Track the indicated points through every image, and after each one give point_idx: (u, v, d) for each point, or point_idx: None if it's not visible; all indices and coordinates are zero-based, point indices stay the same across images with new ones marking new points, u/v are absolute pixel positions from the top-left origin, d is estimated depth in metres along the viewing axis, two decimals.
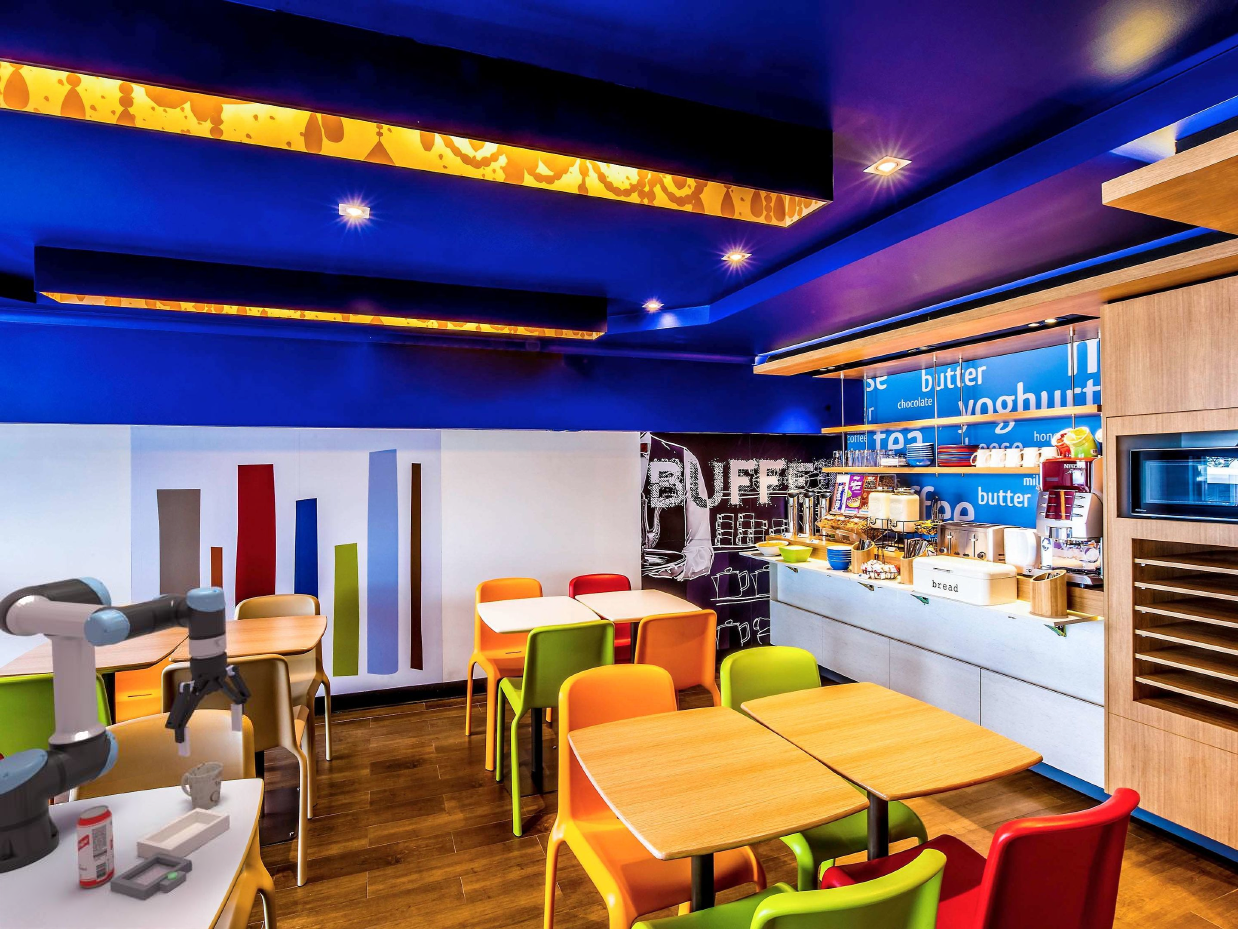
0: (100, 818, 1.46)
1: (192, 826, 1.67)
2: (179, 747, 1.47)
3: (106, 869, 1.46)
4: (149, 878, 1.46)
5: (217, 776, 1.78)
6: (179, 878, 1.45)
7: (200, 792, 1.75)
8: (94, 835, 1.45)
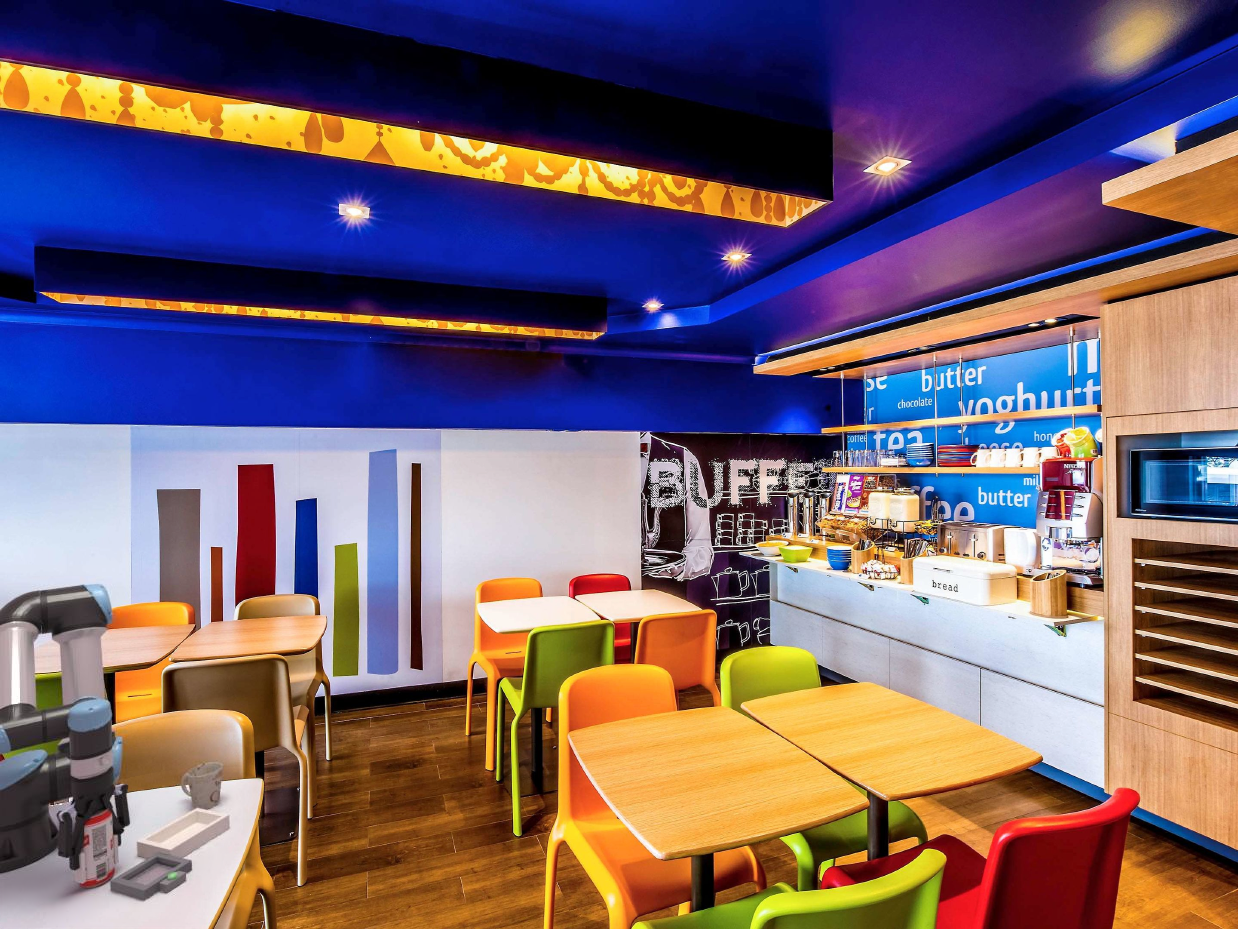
0: (100, 818, 1.46)
1: (192, 826, 1.67)
2: (75, 873, 1.44)
3: (106, 869, 1.46)
4: (149, 878, 1.46)
5: (217, 776, 1.78)
6: (179, 878, 1.45)
7: (200, 792, 1.75)
8: (94, 835, 1.45)
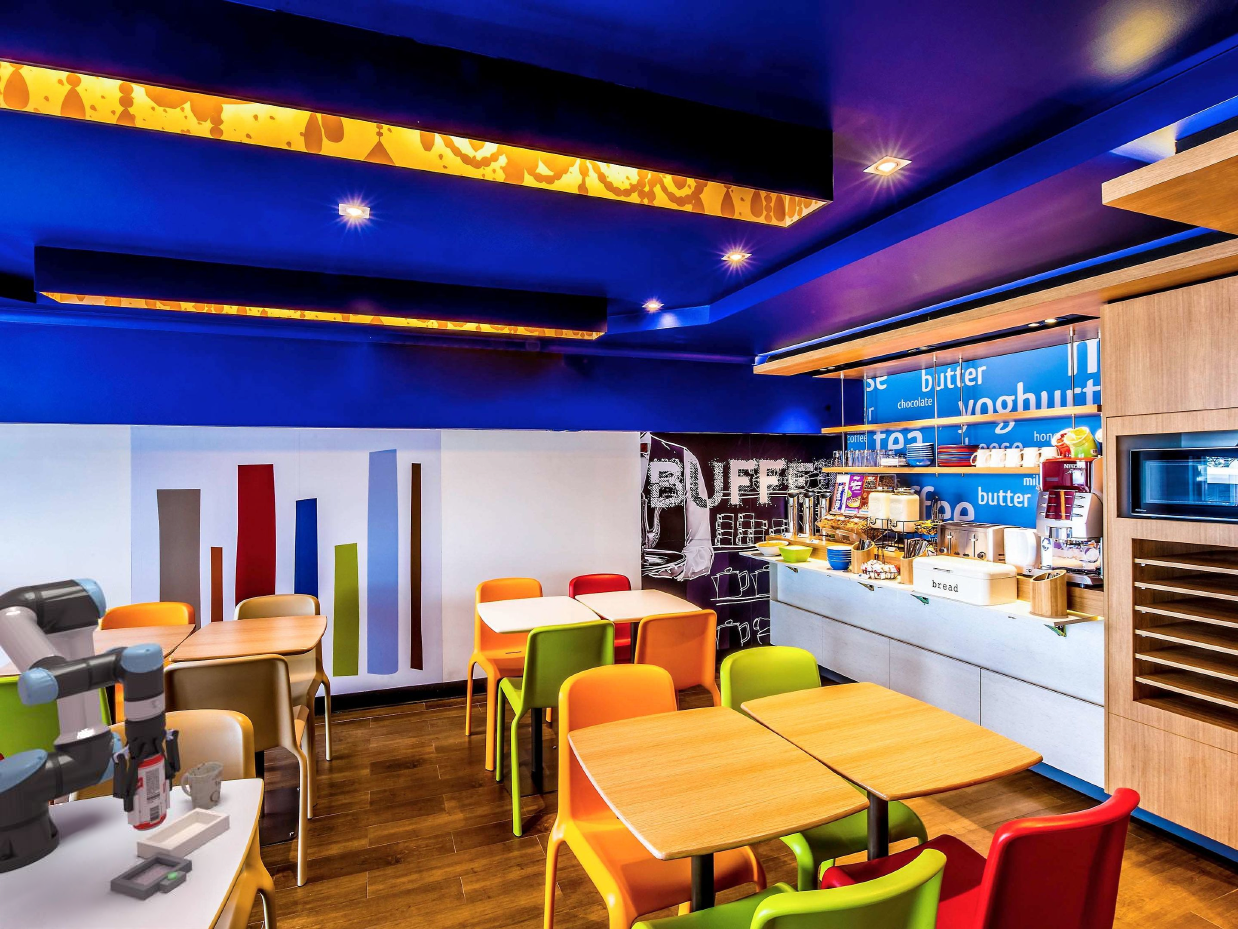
0: (154, 761, 1.45)
1: (192, 826, 1.67)
2: (129, 816, 1.43)
3: (159, 813, 1.46)
4: (149, 878, 1.46)
5: (217, 776, 1.78)
6: (179, 878, 1.45)
7: (200, 792, 1.75)
8: (148, 778, 1.44)
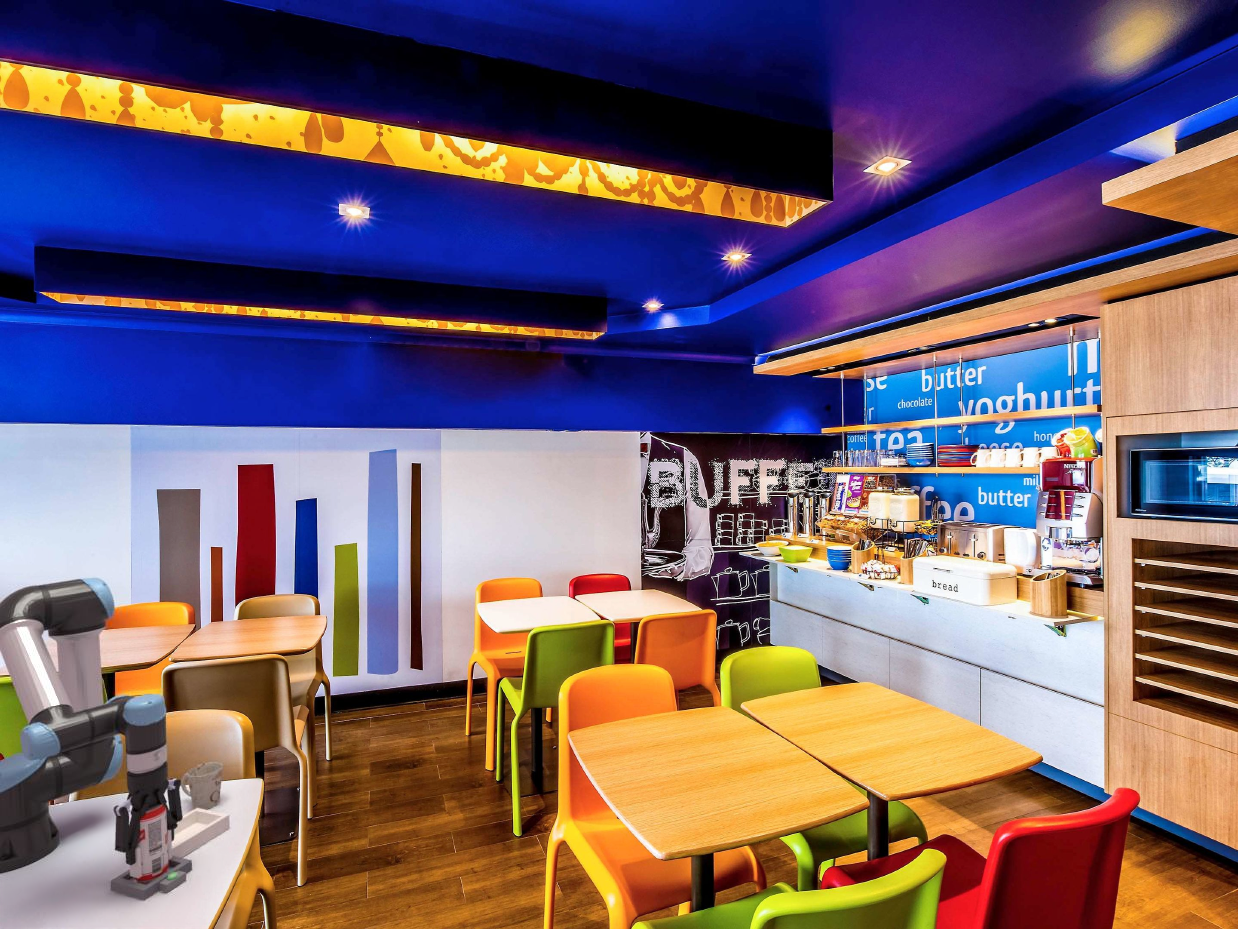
0: (156, 813, 1.46)
1: (192, 826, 1.67)
2: (131, 868, 1.44)
3: (161, 864, 1.46)
4: None
5: (217, 776, 1.78)
6: (179, 878, 1.45)
7: (200, 792, 1.75)
8: (150, 830, 1.44)
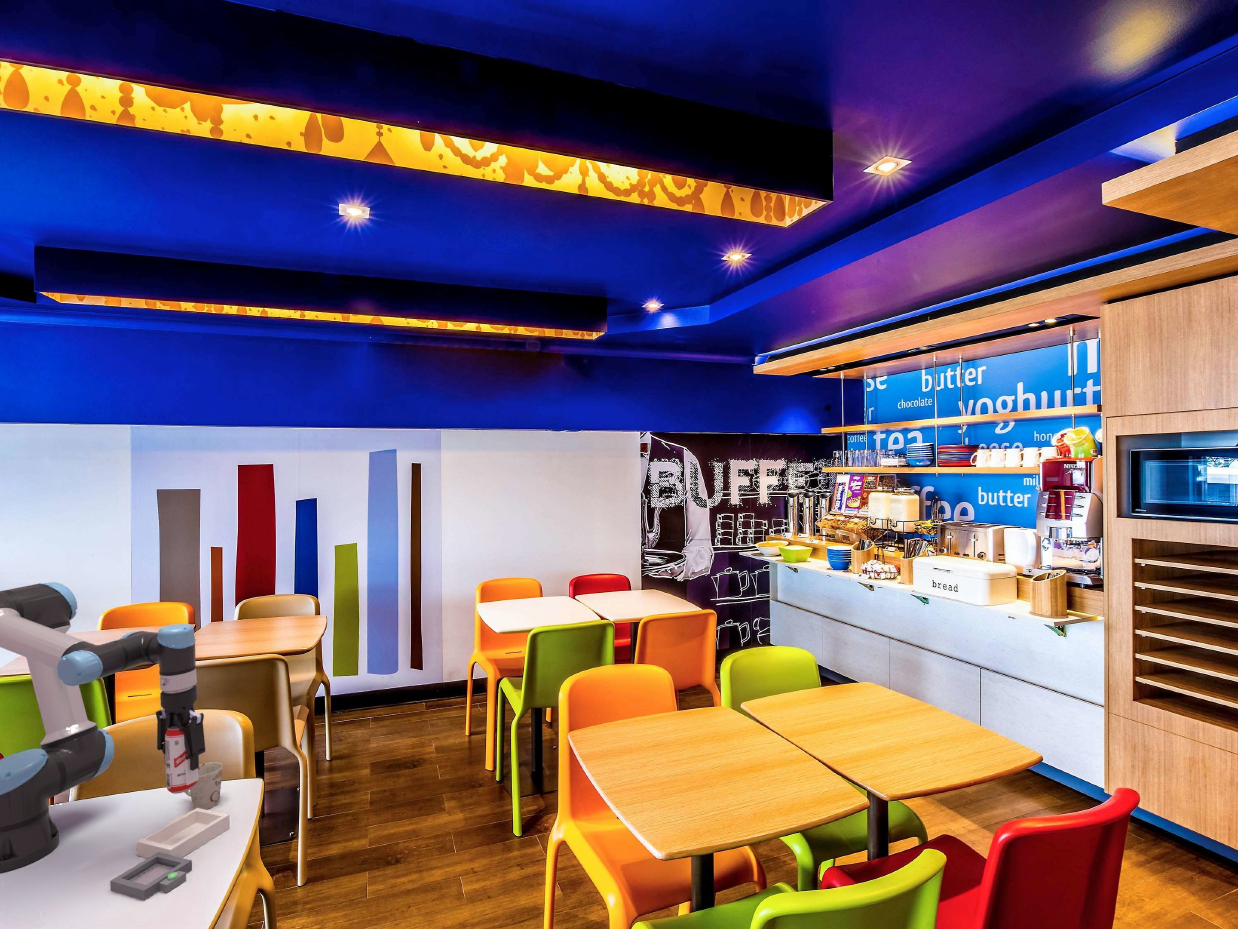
0: (168, 733, 1.59)
1: (192, 826, 1.67)
2: None
3: (170, 782, 1.58)
4: (149, 878, 1.46)
5: (217, 776, 1.78)
6: (179, 878, 1.45)
7: (200, 792, 1.75)
8: (165, 744, 1.59)
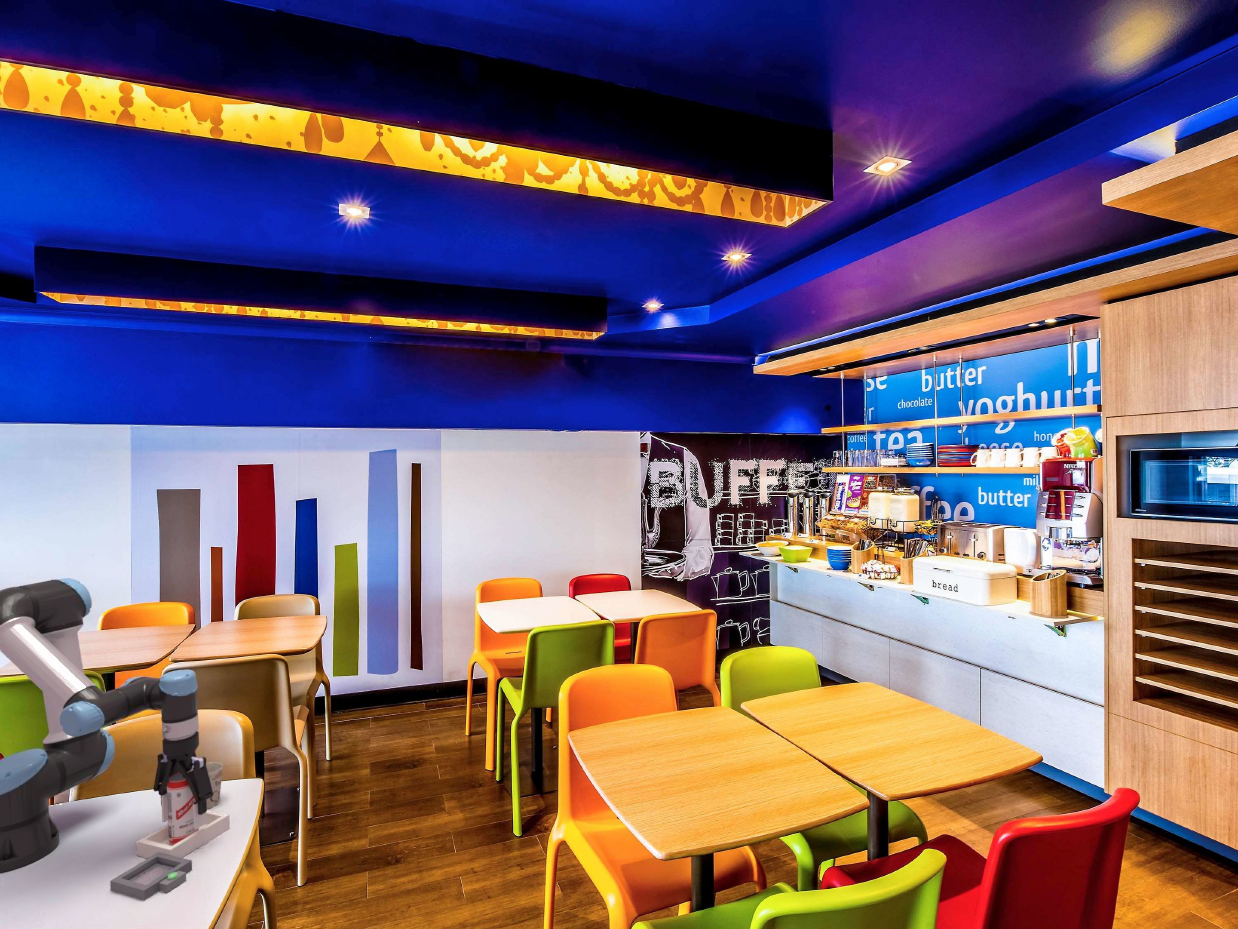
0: (170, 785, 1.59)
1: None
2: None
3: (172, 834, 1.59)
4: (149, 878, 1.46)
5: (217, 776, 1.78)
6: (179, 878, 1.45)
7: None
8: (167, 796, 1.60)
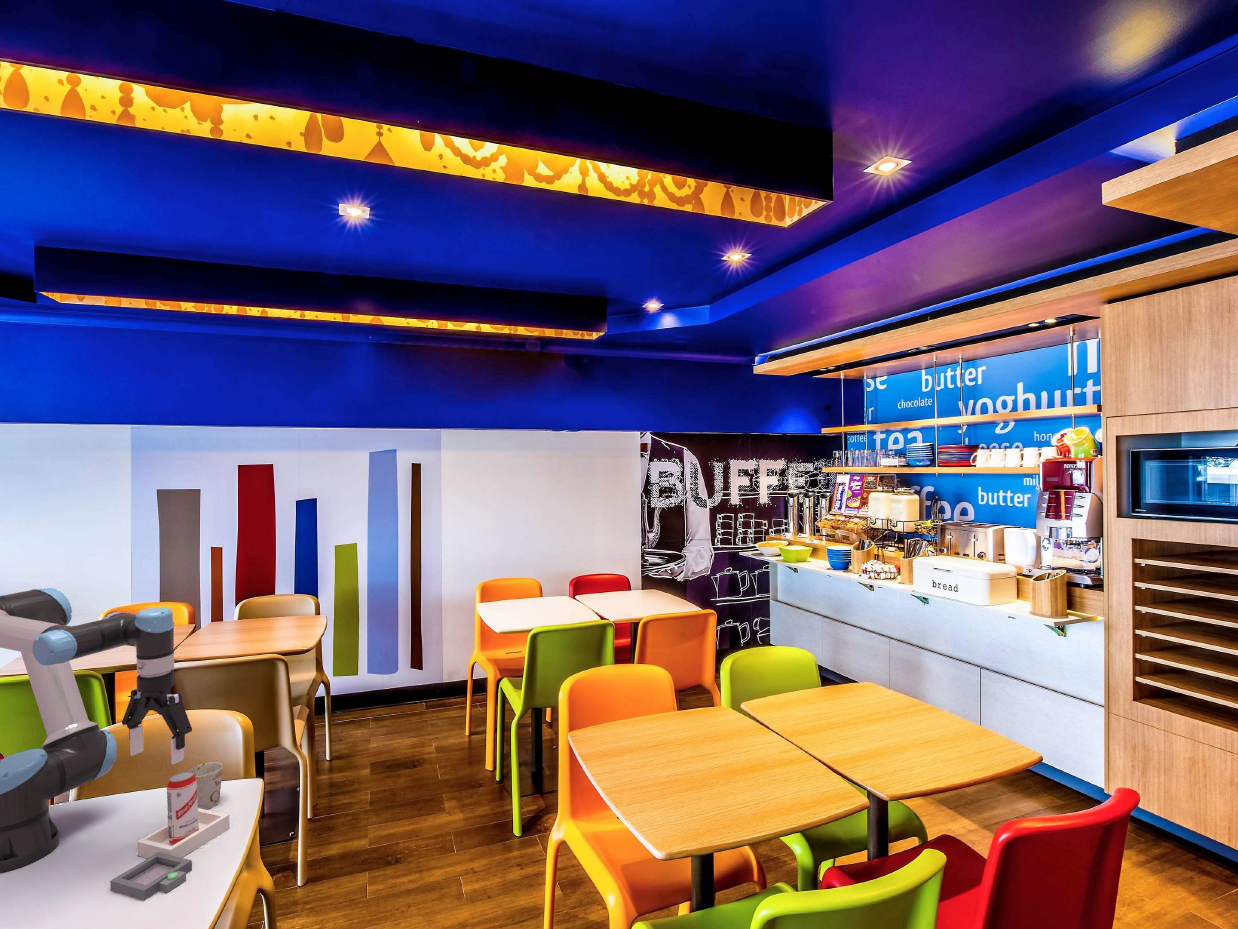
0: (170, 785, 1.59)
1: None
2: None
3: (172, 834, 1.59)
4: (149, 878, 1.46)
5: (217, 776, 1.78)
6: (179, 878, 1.45)
7: (200, 792, 1.75)
8: (167, 796, 1.60)
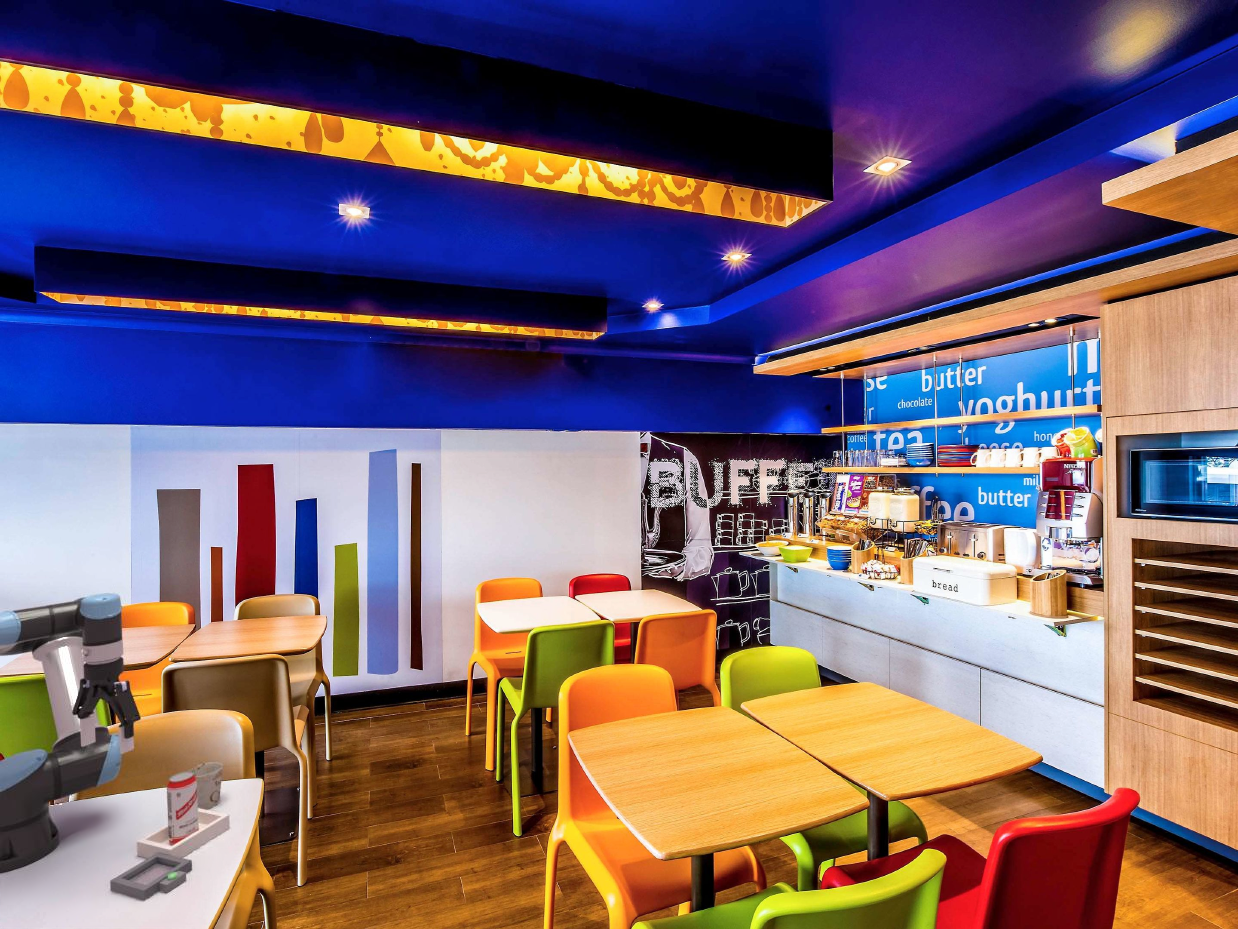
0: (170, 785, 1.59)
1: None
2: None
3: (172, 834, 1.59)
4: (149, 878, 1.46)
5: (217, 776, 1.78)
6: (179, 878, 1.45)
7: (200, 792, 1.75)
8: (167, 796, 1.60)
